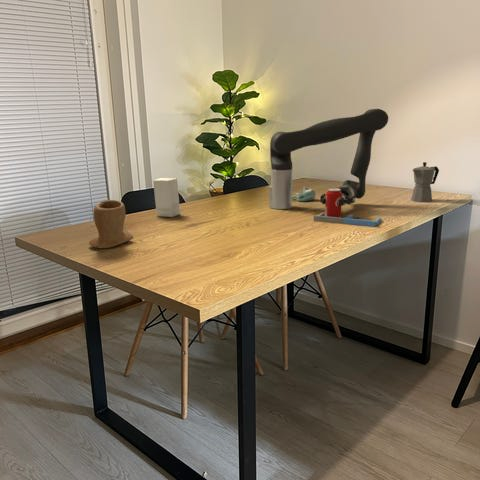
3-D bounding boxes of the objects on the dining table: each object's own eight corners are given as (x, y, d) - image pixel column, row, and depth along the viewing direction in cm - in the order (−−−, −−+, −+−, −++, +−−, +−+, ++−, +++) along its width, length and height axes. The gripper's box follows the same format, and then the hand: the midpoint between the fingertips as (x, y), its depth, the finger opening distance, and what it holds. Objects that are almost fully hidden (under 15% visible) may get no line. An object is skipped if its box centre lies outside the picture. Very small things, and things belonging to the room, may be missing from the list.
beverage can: (340, 221, 185) (342, 190, 181) (324, 220, 186) (325, 190, 183) (340, 217, 191) (342, 188, 187) (325, 216, 192) (326, 187, 189)
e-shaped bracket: (313, 220, 186) (313, 215, 185) (322, 215, 195) (322, 210, 195) (374, 226, 175) (375, 221, 175) (381, 220, 185) (381, 215, 184)
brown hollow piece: (108, 253, 148) (103, 206, 144) (84, 247, 155) (79, 202, 151) (143, 241, 160) (140, 198, 156) (119, 237, 167) (116, 195, 163)
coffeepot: (417, 203, 215) (421, 164, 210) (403, 200, 224) (406, 162, 219) (443, 200, 221) (447, 162, 216) (428, 197, 229) (431, 160, 225)
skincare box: (180, 214, 201) (178, 178, 196) (171, 217, 195) (169, 180, 191) (163, 213, 204) (161, 177, 200) (155, 216, 198) (152, 179, 194)
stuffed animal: (290, 187, 233) (314, 183, 230) (293, 201, 234) (317, 197, 231) (288, 190, 222) (313, 186, 219) (290, 205, 224) (316, 201, 221)
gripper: (327, 185, 201) (314, 191, 187) (360, 187, 194) (350, 194, 180) (326, 202, 203) (313, 210, 189) (359, 205, 196) (349, 213, 182)
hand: (331, 202), depth 184 cm, fingers closed on beverage can, 6 cm apart
